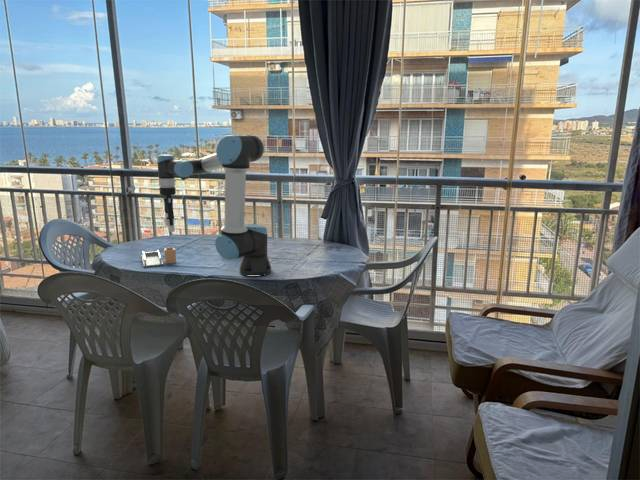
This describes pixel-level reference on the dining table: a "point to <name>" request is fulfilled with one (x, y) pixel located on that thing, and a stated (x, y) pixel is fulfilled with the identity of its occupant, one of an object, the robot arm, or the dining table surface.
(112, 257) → the dining table surface
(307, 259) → the dining table surface
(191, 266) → the dining table surface
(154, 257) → the white tray
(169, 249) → the module
